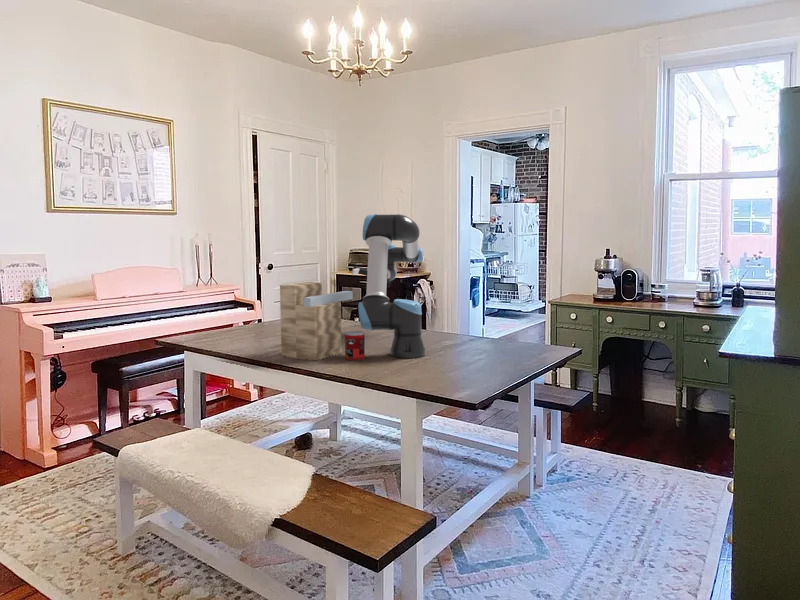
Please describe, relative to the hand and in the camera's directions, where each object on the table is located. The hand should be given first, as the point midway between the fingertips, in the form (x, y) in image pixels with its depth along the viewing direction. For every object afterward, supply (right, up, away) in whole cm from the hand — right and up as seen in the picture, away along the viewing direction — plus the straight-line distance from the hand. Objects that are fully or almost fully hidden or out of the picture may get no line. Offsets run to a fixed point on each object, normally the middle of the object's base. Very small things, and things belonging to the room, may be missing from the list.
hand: (365, 277), depth 279 cm
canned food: (-2, -35, -32) cm, 47 cm away
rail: (-14, -11, -24) cm, 30 cm away
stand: (-22, -34, -23) cm, 47 cm away
